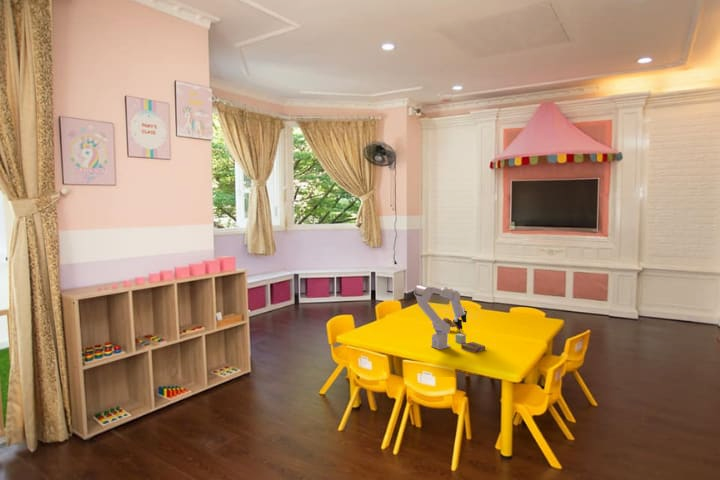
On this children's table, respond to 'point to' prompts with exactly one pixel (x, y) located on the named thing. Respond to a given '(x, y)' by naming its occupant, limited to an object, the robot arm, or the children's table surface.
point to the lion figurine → (452, 324)
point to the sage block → (460, 338)
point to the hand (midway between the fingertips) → (462, 325)
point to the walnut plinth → (473, 347)
